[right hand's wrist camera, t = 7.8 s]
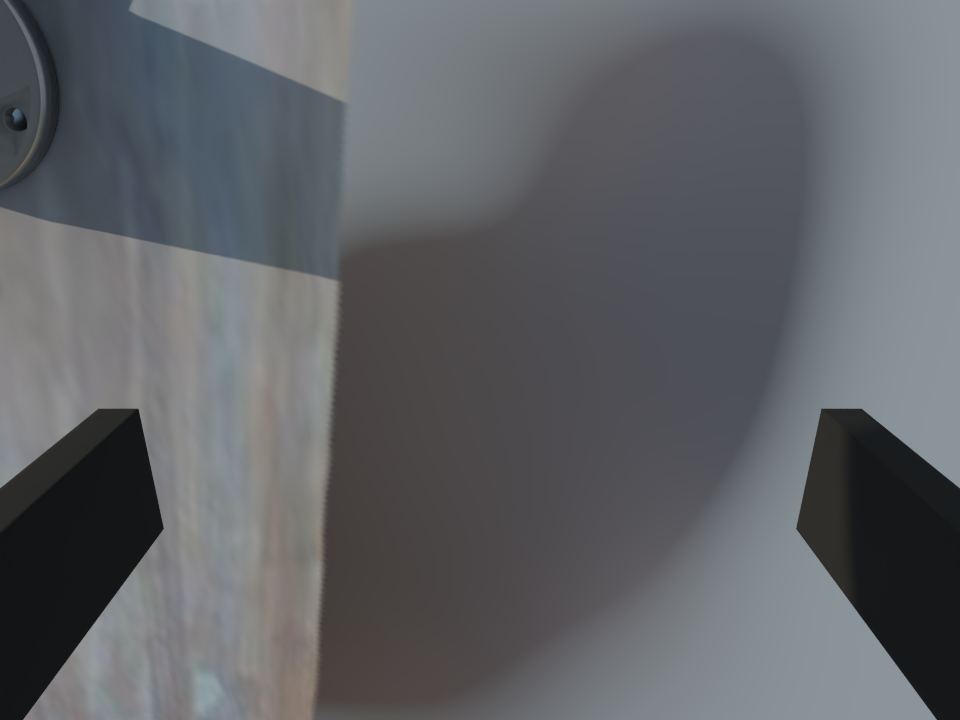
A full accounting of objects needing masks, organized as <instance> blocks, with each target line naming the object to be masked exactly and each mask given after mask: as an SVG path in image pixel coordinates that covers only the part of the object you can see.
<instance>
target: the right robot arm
mask: <svg viewBox="0 0 960 720" xmlns="http://www.w3.org/2000/svg"><path fill="white" fill-rule="evenodd" d="M58 109H59V93H58V83H57V77H56V72H55V68H54V64H53V60H52V57H51V54H50V51H49V49H48V46H47V44H46V41H45V39H44V37H43V35H42V33H41V31H40V29H39V27H38V25H37V23H36V22H35V20H34V18H33V17H32V15H31V13H30V12H29V10H28V9H27V8H26V6H25V5H24V3H23V2H22V1H21V0H0V190H2V189H4V188H7V187H9V186H11V185H13V184H15V183H17V182H18V181H20V180H22V179H23V178H24V177H26V176H27V175H28V174H29V173H30V172H32V171H33V169H34V168H35V167H36V166H37V165H38V164H39V163H40V161H41V160H42V158H43V157H44V156H45V154H46V152H47V150H48V148H49V146H50V144H51V141H52V139H53V136H54V133H55V129H56V125H57V119H58ZM163 529H164V528H163V523H162V518H161V514H160V509H159V504H158V499H157V495H156V490H155V485H154V480H153V476H152V471H151V466H150V462H149V457H148V452H147V447H146V443H145V438H144V433H143V428H142V424H141V419H140V414H139V409H98V410H96V411H95V412H94V413H93V414H92V415H90V416H89V417H88V418H87V419H85V420H84V421H83V422H82V423H80V424H79V425H78V426H77V427H75V428H74V429H73V430H72V431H71V432H69V433H68V434H67V435H66V436H64V437H63V438H62V439H61V440H59V441H58V442H57V443H56V444H54V445H53V446H52V447H51V448H50V449H48V450H47V451H46V452H45V453H43V454H42V455H41V456H40V457H38V458H37V459H36V460H35V461H34V462H32V463H31V464H30V465H29V466H27V467H26V468H25V469H24V470H22V471H21V472H20V473H19V474H17V475H16V476H15V477H14V478H13V479H11V480H10V481H9V482H8V483H6V484H5V485H4V486H3V487H1V488H0V720H23V719H24V718H25V716H26V715H27V714H28V712H29V711H30V710H31V708H32V707H33V705H34V704H35V703H36V701H37V700H38V699H39V697H40V696H41V695H42V693H43V692H44V691H45V689H46V688H47V686H48V685H49V684H50V682H51V681H52V680H53V678H54V677H55V676H56V674H57V673H58V672H59V670H60V669H61V667H62V666H63V665H64V663H65V662H66V661H67V659H68V658H69V657H70V655H71V654H72V653H73V651H74V650H75V648H76V647H77V646H78V644H79V643H80V642H81V640H82V639H83V638H84V636H85V635H86V634H87V632H88V631H89V629H90V628H91V627H92V625H93V624H94V623H95V621H96V620H97V619H98V617H99V616H100V615H101V613H102V612H103V610H104V609H105V608H106V606H107V605H108V604H109V602H110V601H111V600H112V598H113V597H114V596H115V594H116V593H117V591H118V590H119V589H120V587H121V586H122V585H123V583H124V582H125V581H126V579H127V578H128V577H129V575H130V574H131V572H132V571H133V570H134V568H135V567H136V566H137V564H138V563H139V562H140V560H141V559H142V558H143V556H144V555H145V553H146V552H147V551H148V549H149V548H150V547H151V545H152V544H153V543H154V541H155V540H156V539H157V537H158V536H159V534H160V533H161V532H162V530H163ZM796 529H797V530H798V532H799V533H800V534H801V536H802V537H803V539H804V540H805V541H806V543H807V544H808V545H809V547H810V548H811V549H812V551H813V552H814V553H815V555H816V556H817V558H818V559H819V560H820V562H821V563H822V564H823V566H824V567H825V568H826V570H827V571H828V572H829V574H830V575H831V577H832V578H833V579H834V581H835V582H836V583H837V585H838V586H839V587H840V589H841V590H842V591H843V593H844V594H845V596H846V597H847V598H848V600H849V601H850V602H851V604H852V605H853V606H854V608H855V609H856V610H857V612H858V613H859V615H860V616H861V617H862V619H863V620H864V621H865V623H866V624H867V625H868V627H869V628H870V629H871V631H872V632H873V633H874V635H875V636H876V638H877V639H878V640H879V642H880V643H881V644H882V646H883V647H884V648H885V650H886V651H887V653H888V654H889V655H890V657H891V658H892V659H893V661H894V662H895V663H896V665H897V666H898V667H899V669H900V670H901V672H902V673H903V674H904V676H905V677H906V678H907V680H908V681H909V682H910V684H911V685H912V686H913V688H914V689H915V691H916V692H917V693H918V695H919V696H920V697H921V699H922V700H923V701H924V703H925V704H926V705H927V707H928V708H929V709H930V711H931V712H932V714H933V715H934V716H935V718H936V719H937V720H960V488H959V487H957V486H956V485H955V484H954V483H952V482H951V481H950V480H949V479H947V478H946V477H945V476H944V475H943V474H941V473H940V472H939V471H938V470H936V469H935V468H934V467H933V466H931V465H930V464H929V463H928V462H926V461H925V460H924V459H923V458H922V457H920V456H919V455H918V454H917V453H915V452H914V451H913V450H912V449H910V448H909V447H908V446H907V445H905V444H904V443H903V442H902V441H901V440H899V439H898V438H897V437H896V436H894V435H893V434H892V433H891V432H889V431H888V430H887V429H886V428H885V427H883V426H882V425H881V424H880V423H878V422H877V421H876V420H875V419H873V418H872V417H871V416H870V415H868V414H867V413H866V412H865V411H864V410H862V409H821V414H820V419H819V424H818V428H817V433H816V438H815V443H814V447H813V452H812V457H811V462H810V466H809V471H808V476H807V481H806V485H805V490H804V495H803V499H802V504H801V509H800V514H799V519H798V523H797V528H796Z"/></svg>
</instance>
